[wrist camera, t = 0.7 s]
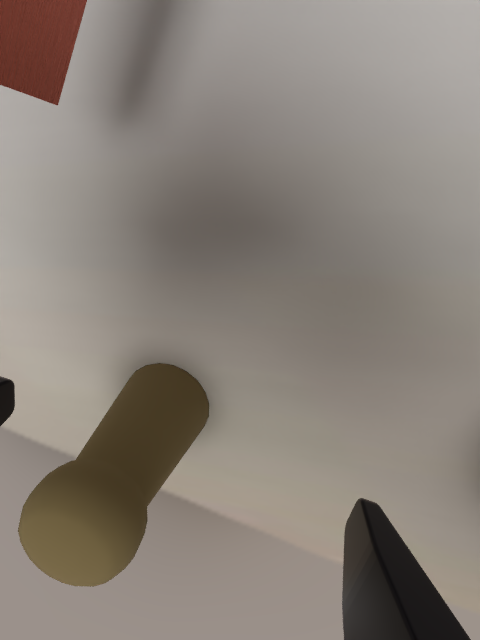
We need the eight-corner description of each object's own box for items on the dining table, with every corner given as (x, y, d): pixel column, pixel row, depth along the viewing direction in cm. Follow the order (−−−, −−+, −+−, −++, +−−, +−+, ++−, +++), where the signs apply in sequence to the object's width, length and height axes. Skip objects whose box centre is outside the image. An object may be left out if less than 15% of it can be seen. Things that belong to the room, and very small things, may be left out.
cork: (149, 447, 25) (42, 617, 15) (110, 377, 24) (-38, 512, 14) (223, 429, 24) (158, 607, 13) (185, 352, 22) (80, 485, 12)
